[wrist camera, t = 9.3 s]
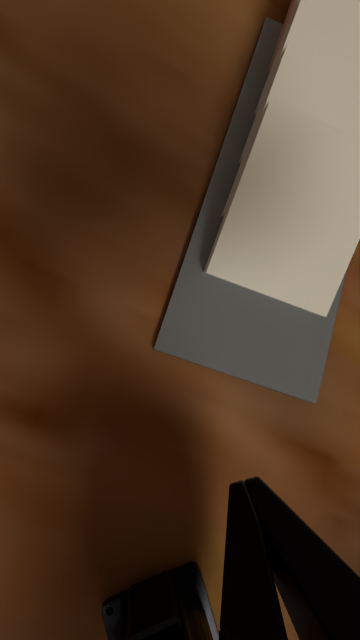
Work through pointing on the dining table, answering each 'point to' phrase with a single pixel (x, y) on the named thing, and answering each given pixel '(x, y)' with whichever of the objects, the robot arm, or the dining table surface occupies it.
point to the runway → (235, 301)
